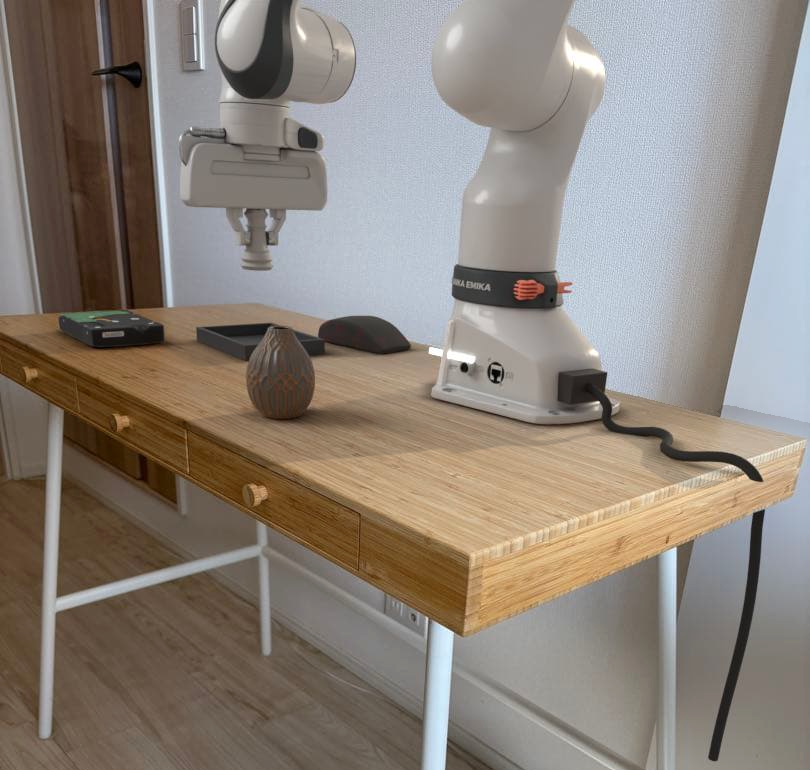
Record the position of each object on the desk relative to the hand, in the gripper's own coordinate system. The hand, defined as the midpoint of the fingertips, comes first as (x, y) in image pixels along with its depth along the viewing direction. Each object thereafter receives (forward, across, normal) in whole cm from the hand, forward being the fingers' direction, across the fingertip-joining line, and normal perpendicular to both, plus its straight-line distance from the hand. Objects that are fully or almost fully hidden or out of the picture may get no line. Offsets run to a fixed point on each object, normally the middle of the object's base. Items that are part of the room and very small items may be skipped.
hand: (257, 245), depth 112 cm
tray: (+14, 0, 0) cm, 14 cm away
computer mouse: (+14, +15, -4) cm, 21 cm away
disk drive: (+14, -16, +14) cm, 26 cm away
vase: (+14, -15, -33) cm, 39 cm away
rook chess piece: (+3, 0, 0) cm, 3 cm away
